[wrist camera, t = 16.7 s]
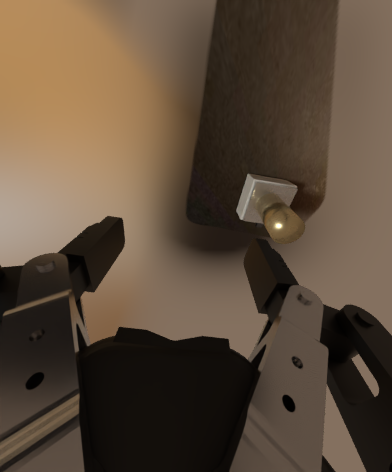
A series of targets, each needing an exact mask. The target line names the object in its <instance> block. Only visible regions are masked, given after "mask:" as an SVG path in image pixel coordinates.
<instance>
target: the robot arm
mask: <svg viewBox="0 0 392 472" xmlns="http://www.w3.org/2000/svg"><path fill="white" fill-rule="evenodd" d="M124 244H125V236H124V226H123V220H122V218H118V217H111V216H107V217H106V218H105V219H103V220H102V221H101V222H100V223H96V224H94V225H92V226H89V227H87V228H86V229H85V230H84V231H83V232H82V233H80V234H79V235H78V236H77V238H75V239H73V240H72V241H71V242H70V243H69V244H67V245H66V246H65V247H64V248H63V249H61V250H60V251H59V252H58V253H49V254H44V255H40V256H37V257H35V258H33V259H31V260H29V261H28V262H27V263H25V265H24V266H12V267H1V266H0V472H335V471H334V469H333V468H332V467H331V465H330V464H329V463H328V461H327V460H326V459H325V458H324V456H323V455H322V448H323V432H324V416H325V400H326V384H327V385H328V387H329V389H330V392H331V394H332V396H333V398H334V400H335V403H336V405H337V407H338V409H339V411H340V414H341V416H342V418H343V420H344V423H345V425H346V427H347V429H348V431H349V434H350V436H351V438H352V440H353V442H354V445H355V447H356V449H357V451H358V454H359V456H360V458H361V460H362V462H363V465H364V467H365V469H366V471H367V472H392V336H391V334H390V333H389V332H388V331H387V330H386V329H385V328H384V327H383V325H382V324H381V323H380V322H379V321H378V320H377V319H376V318H375V317H374V316H372V315H371V314H370V313H368V312H367V311H365V310H364V309H362V308H360V307H357V306H354V305H345V306H344V307H343V308H342V309H341V310H337V309H334V308H331V307H329V306H326V305H324V304H323V303H322V301H321V300H320V298H319V297H318V296H317V295H316V294H315V293H314V292H312V291H311V290H309V289H307V288H305V287H303V286H300V285H299V284H298V282H297V281H296V279H295V277H294V276H293V274H292V273H291V271H290V270H289V268H288V267H287V265H286V263H285V262H284V260H283V258H282V257H281V255H280V254H279V253H277V252H276V251H275V250H274V249H272V248H271V246H270V245H269V243H268V241H266V240H264V239H257V238H253V239H252V241H251V243H250V246H249V248H248V251H247V253H246V255H245V258H244V268H245V271H246V274H247V277H248V281H249V284H250V287H251V290H252V293H253V297H254V300H255V303H256V306H257V309H258V313H262V314H267V315H268V320H267V321H266V323H265V325H264V327H263V330H262V332H261V334H260V336H259V339H258V341H257V343H256V346H255V347H254V350H253V352H252V353H251V355H250V357H249V358H248V360H247V359H246V358H245V357H244V356H242V355H241V354H239V353H238V352H236V351H234V350H232V349H230V347H229V340H228V339H224V338H215V337H206V336H201V337H195V338H189V339H183V340H178V341H173V340H170V339H167V338H165V337H163V336H160V335H158V334H155V333H153V332H150V331H148V330H142V329H134V328H123V327H119V328H118V331H117V333H116V335H115V336H112V337H108V338H105V339H102V340H100V341H97V342H95V343H93V344H90V340H89V336H88V333H87V327H86V321H85V316H84V310H83V304H82V299H81V295H82V294H83V292H84V291H87V292H95V290H96V289H97V287H98V286H99V284H100V283H101V281H102V280H103V278H104V277H105V275H106V274H107V272H108V271H109V269H110V268H111V266H112V265H113V263H114V262H115V260H116V259H117V257H118V255H119V254H120V253H121V251H122V249H123V247H124ZM358 354H359V355H360V356H361V358H362V359H363V361H364V362H365V364H366V365H367V367H368V368H369V370H370V372H371V373H372V374H373V376H374V378H375V379H376V381H377V383H378V386H379V394H378V396H376V397H374V395H373V394H372V392H371V390H370V389H369V387H368V385H367V384H366V382H365V381H364V379H363V377H362V376H361V374H360V372H359V371H358V369H357V367H356V366H355V364H354V363H353V361H352V359H351V358H353V357H355V356H356V355H358Z"/></svg>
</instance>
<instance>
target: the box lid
mask: <svg viewBox="0 0 392 472" xmlns="http://www.w3.org/2000/svg"><path fill="white" fill-rule="evenodd" d="M297 190H298V189H297V188H292V187H286V186H281V185H275V184H269V183H263V182H257V181H255V184H254V187H253V189H252V192H251V195H250V198H249V201H248V204H247V207H246V210H245V213H244V216H243V218H242V219H243V221H249V222H255V223H256V227H262V225H263V224H264V223H263V222H262V220H261V218H260V216H259V214H258V213H257V211H256V203H257V201H258V200H259V199H260V198H261V197H262V196H264V195H266V194H276V195H278V196H279V197H280V198H281V199H282V200H283V201H284V202H285V203H286V204H287V205H288V206H290V204H291V202H292V200H293V198H294V196H295V194H296V192H297Z"/></svg>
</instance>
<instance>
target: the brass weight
mask: <svg viewBox="0 0 392 472" xmlns="http://www.w3.org/2000/svg"><path fill="white" fill-rule="evenodd" d="M256 211H257V213H258V214H259V216H260V218H261V220H262V222H263V223H264V225H265V227H266V229H267V231H268V232H269V234H270V236H271V238H272V239H273V240H274V241H275V242H277V243H279V244H287V243H291V242H294V241H296V240H297V239H299V238H300V237H301V235H302V234H303V232H304V230H305V224H304V222H303V221H302V220H301V219H300V218H299V217H298V216H297V215H296V214H295V213H294V211H293V210H292V209H291V208H290V207H289V206H288V205H287V204H286V203H285V202H284V201H283V200H282V199H281V198H280V197H279V196H278V195H276V194H266V195H264V196H262V197H261V198H260V199H259V200H258V201H257V203H256Z"/></svg>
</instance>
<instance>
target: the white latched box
mask: <svg viewBox="0 0 392 472" xmlns="http://www.w3.org/2000/svg"><path fill="white" fill-rule="evenodd" d="M255 181H257V182H263V183H269V184H275V185H281V186H286V187H292V188H297V186H296V185H294V184H292V183H291V182H289V181H287V180H283V179H277V178H271V177H265V176H260V175H254V174H248V175H247V178H246V182H245V185H244V188H243V191H242V194H241V198H240V201H239V204H238V207H237V213H238V215H239V217H240V219H241V220H243V219H242V218H243V216H244V213H245V210H246V207H247V204H248V201H249V198H250V195H251V192H252V189H253V187H254V184H255Z"/></svg>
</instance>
